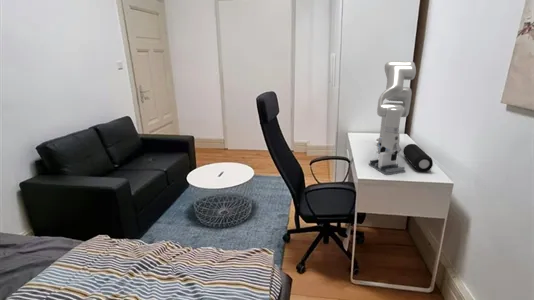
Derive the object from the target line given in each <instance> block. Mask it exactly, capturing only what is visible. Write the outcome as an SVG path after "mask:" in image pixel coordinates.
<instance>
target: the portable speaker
mask: <svg viewBox="0 0 534 300" xmlns="http://www.w3.org/2000/svg"><path fill="white" fill-rule="evenodd" d="M402 153H403V155H404V157H405V158H406V159H407V160H408V161H409V162H410V164H411V165H412V166H413V167H414V168H415V169H416V170H417V171H419V172H423V173H424V172H428V171H430V170H431V169H432V168H433V166H434V163H433V158H432V157H431V156H429V155H428V154H427V153H426V152H425V151H424V150H423V149H422V148H420V146H418V145H417V144H415V143H408V144H407V145H405V147H404V148H403V152H402Z"/></svg>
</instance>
